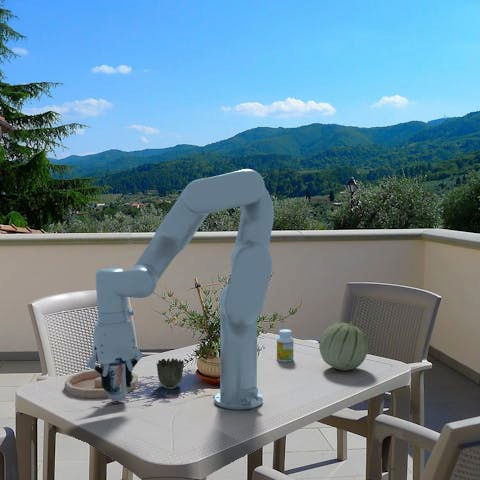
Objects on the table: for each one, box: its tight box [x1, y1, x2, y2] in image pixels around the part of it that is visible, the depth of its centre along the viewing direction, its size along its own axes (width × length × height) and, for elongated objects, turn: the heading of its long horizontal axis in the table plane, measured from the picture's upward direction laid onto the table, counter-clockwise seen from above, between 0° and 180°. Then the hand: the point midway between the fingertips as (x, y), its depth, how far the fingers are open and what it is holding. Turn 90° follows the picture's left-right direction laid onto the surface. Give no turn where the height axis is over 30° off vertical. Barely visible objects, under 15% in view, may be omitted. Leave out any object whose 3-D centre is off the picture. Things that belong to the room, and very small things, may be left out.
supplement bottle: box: [276, 328, 294, 363], centre depth 198 cm, size 5×5×10 cm
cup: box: [155, 357, 185, 390], centre depth 168 cm, size 8×7×8 cm
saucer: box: [64, 369, 139, 399], centre depth 168 cm, size 19×19×3 cm
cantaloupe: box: [318, 320, 369, 372], centre depth 187 cm, size 15×15×15 cm
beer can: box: [107, 357, 128, 402], centre depth 155 cm, size 5×5×12 cm
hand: (117, 387), depth 155 cm, fingers closed on beer can, 4 cm apart
